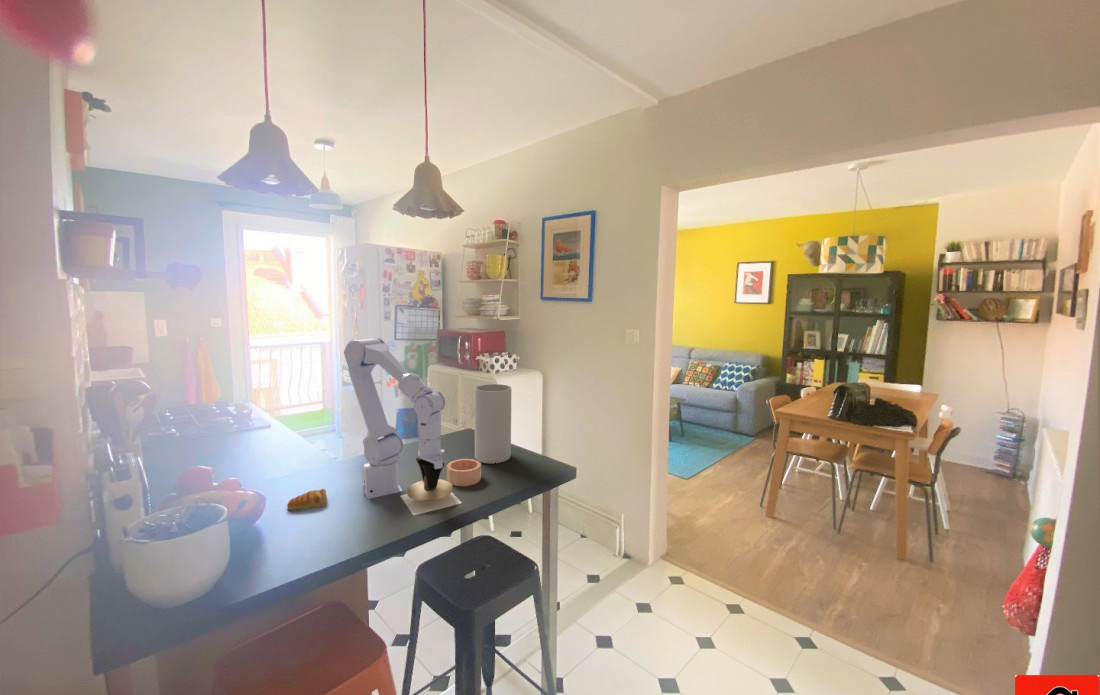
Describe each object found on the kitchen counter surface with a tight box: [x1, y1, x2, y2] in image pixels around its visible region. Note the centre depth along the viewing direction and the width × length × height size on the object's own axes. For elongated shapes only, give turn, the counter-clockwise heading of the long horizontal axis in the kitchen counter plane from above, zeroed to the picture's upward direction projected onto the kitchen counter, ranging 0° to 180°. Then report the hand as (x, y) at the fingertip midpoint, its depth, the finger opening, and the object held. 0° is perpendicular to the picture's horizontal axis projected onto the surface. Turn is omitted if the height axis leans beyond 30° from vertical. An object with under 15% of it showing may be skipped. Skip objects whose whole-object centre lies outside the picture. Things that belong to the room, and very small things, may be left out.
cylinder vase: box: [474, 383, 512, 465], centre depth 151 cm, size 12×12×25 cm
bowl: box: [446, 458, 482, 487], centre depth 133 cm, size 10×10×5 cm
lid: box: [406, 475, 454, 501], centre depth 119 cm, size 12×12×4 cm
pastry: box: [286, 488, 328, 512], centre depth 116 cm, size 9×7×4 cm
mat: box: [399, 492, 463, 516], centre depth 119 cm, size 13×13×1 cm
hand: (430, 485), depth 119 cm, fingers closed on lid, 3 cm apart
